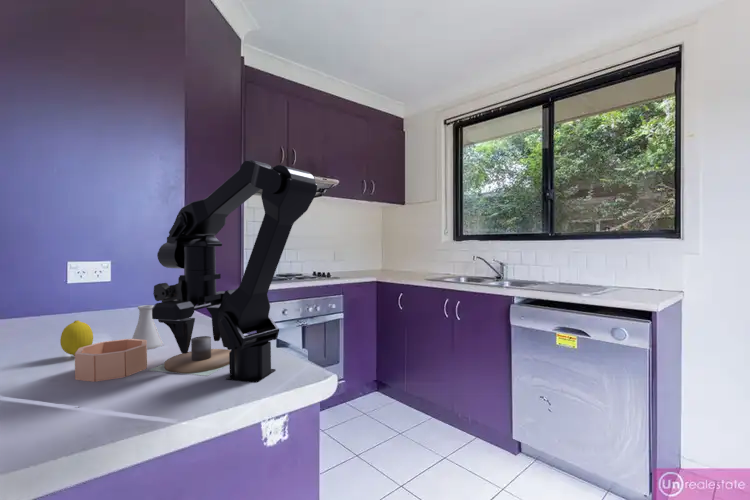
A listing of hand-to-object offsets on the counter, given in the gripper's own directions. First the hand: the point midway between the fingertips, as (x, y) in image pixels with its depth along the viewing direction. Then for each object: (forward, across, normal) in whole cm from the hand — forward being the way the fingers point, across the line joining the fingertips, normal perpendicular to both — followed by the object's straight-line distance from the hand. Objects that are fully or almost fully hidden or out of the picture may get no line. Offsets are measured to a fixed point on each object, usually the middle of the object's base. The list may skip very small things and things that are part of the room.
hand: (201, 346), depth 74 cm
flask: (+4, -7, -21) cm, 23 cm away
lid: (+3, 0, 0) cm, 3 cm away
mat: (+4, 0, 0) cm, 4 cm away
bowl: (+4, +8, -13) cm, 16 cm away
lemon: (+4, +2, -30) cm, 30 cm away
